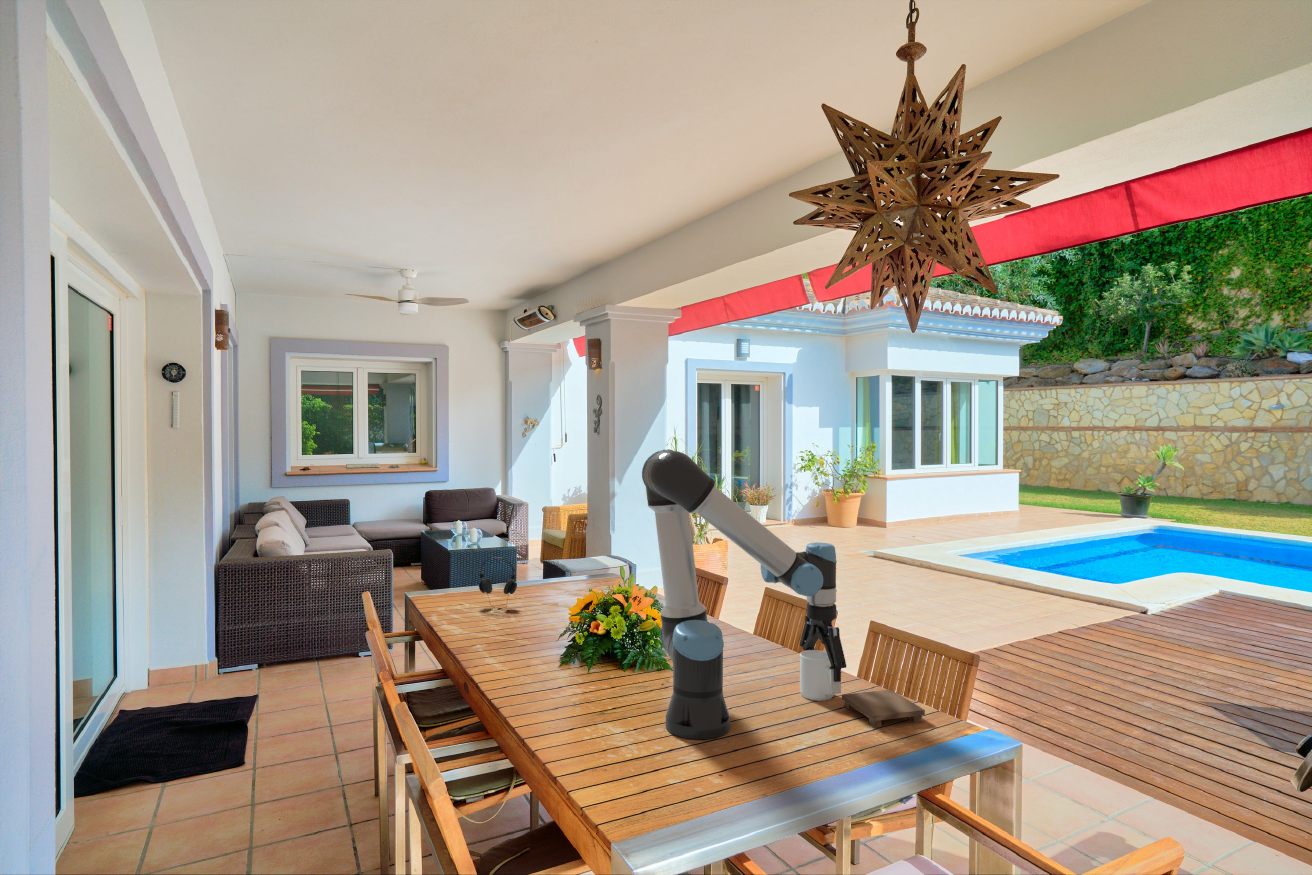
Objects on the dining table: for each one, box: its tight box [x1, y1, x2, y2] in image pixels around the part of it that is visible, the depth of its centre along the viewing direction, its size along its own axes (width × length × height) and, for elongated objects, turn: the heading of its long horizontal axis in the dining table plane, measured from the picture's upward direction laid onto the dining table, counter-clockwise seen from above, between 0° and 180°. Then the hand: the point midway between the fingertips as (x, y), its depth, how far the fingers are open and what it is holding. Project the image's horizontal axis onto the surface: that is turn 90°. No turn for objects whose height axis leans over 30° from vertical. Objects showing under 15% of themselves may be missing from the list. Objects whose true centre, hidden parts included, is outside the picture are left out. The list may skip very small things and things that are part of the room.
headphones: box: [478, 556, 518, 614], centre depth 277 cm, size 15×11×20 cm
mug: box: [799, 649, 836, 702], centre depth 186 cm, size 9×12×11 cm
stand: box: [841, 689, 926, 729], centre depth 175 cm, size 14×14×3 cm
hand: (822, 684), depth 186 cm, fingers open, 13 cm apart
